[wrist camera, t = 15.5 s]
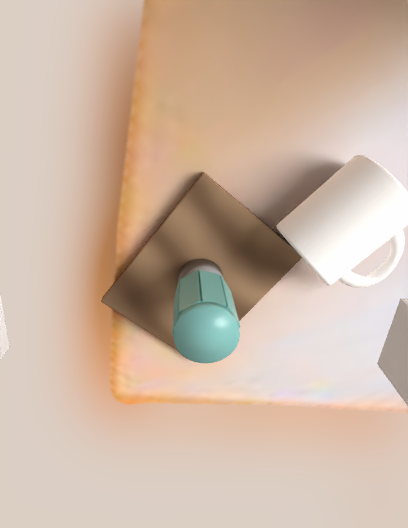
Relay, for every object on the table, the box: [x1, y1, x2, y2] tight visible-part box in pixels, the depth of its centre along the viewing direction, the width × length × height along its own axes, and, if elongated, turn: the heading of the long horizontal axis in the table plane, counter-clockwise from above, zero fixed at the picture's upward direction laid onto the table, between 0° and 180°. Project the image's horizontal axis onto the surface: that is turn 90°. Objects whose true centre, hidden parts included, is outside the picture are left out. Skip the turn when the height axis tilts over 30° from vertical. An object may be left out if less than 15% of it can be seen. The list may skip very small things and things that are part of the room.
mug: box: [276, 155, 408, 287], centre depth 35 cm, size 12×10×8 cm
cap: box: [172, 270, 240, 363], centre depth 32 cm, size 5×5×7 cm
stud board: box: [101, 172, 302, 350], centre depth 35 cm, size 18×14×10 cm
